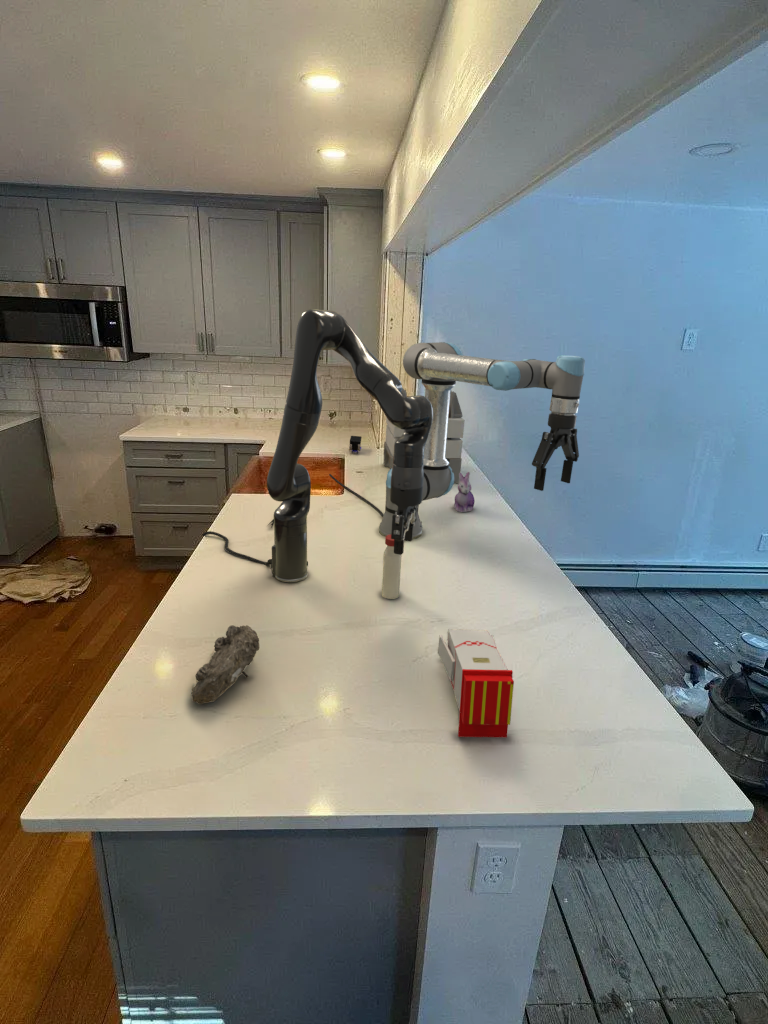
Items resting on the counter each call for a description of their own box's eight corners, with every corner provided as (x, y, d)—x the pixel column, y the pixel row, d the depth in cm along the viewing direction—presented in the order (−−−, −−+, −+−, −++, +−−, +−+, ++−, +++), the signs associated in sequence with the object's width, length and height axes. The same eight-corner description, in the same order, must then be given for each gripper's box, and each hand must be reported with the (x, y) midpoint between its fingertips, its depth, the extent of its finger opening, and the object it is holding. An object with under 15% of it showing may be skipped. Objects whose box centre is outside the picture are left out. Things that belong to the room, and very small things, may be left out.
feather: (287, 506, 225) (290, 502, 224) (270, 530, 198) (272, 526, 198) (283, 504, 225) (286, 500, 224) (265, 527, 198) (268, 523, 197)
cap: (404, 544, 152) (404, 537, 151) (393, 548, 149) (393, 541, 149) (393, 539, 155) (393, 533, 154) (381, 543, 152) (382, 536, 151)
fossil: (211, 627, 129) (258, 597, 124) (240, 656, 132) (287, 627, 127) (170, 698, 110) (224, 665, 105) (204, 729, 113) (259, 699, 108)
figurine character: (361, 457, 304) (361, 447, 317) (361, 444, 301) (362, 434, 314) (348, 456, 304) (349, 447, 317) (348, 443, 300) (349, 434, 314)
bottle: (402, 595, 157) (406, 539, 152) (390, 600, 154) (393, 543, 148) (390, 589, 160) (393, 533, 155) (378, 594, 157) (380, 538, 152)
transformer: (382, 463, 289) (386, 382, 275) (445, 464, 293) (451, 384, 279) (390, 482, 257) (394, 392, 243) (460, 483, 261) (468, 394, 247)
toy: (488, 613, 130) (523, 677, 101) (484, 667, 133) (517, 744, 104) (435, 612, 130) (455, 676, 101) (432, 666, 133) (451, 743, 103)
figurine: (461, 514, 221) (464, 477, 216) (446, 506, 230) (449, 470, 225) (480, 511, 226) (484, 475, 221) (466, 503, 234) (469, 468, 229)
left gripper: (399, 473, 139) (396, 534, 145) (382, 489, 126) (379, 555, 132) (429, 477, 137) (425, 539, 143) (415, 493, 124) (410, 561, 130)
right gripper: (548, 419, 148) (537, 496, 155) (598, 411, 163) (586, 482, 171) (525, 414, 153) (515, 489, 160) (575, 407, 169) (564, 476, 176)
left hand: (403, 547), depth 137 cm, fingers open, 8 cm apart
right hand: (552, 485), depth 166 cm, fingers open, 13 cm apart
